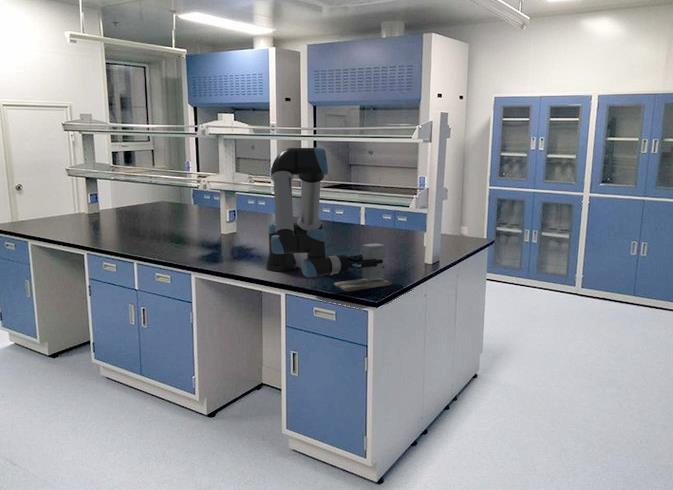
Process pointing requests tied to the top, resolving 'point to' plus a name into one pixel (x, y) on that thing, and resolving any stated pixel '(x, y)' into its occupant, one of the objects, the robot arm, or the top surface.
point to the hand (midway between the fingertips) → (383, 258)
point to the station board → (361, 284)
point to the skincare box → (371, 253)
